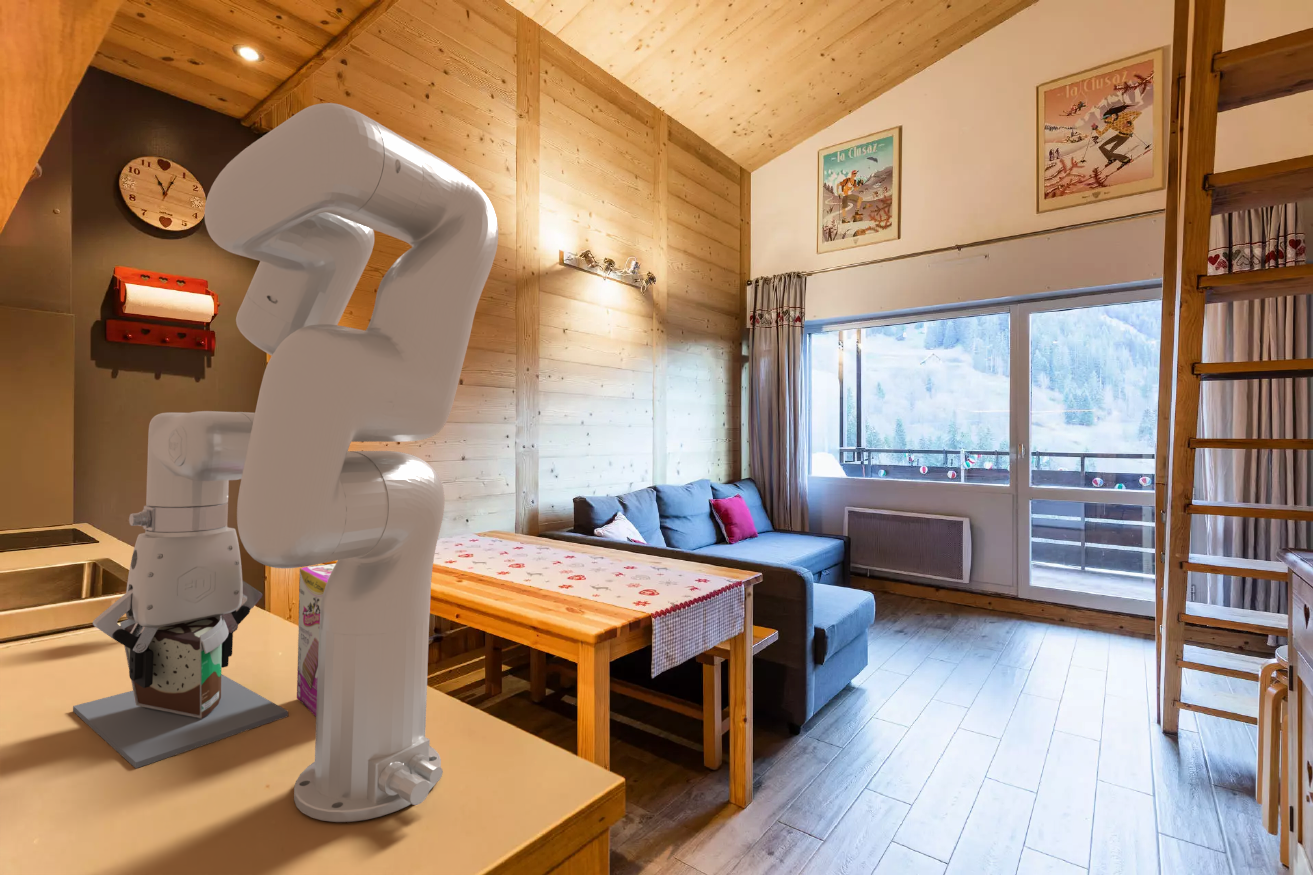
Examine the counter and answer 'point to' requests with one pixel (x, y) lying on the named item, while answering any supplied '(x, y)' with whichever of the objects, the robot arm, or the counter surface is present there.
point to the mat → (174, 723)
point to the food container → (184, 667)
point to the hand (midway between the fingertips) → (182, 672)
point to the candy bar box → (310, 631)
